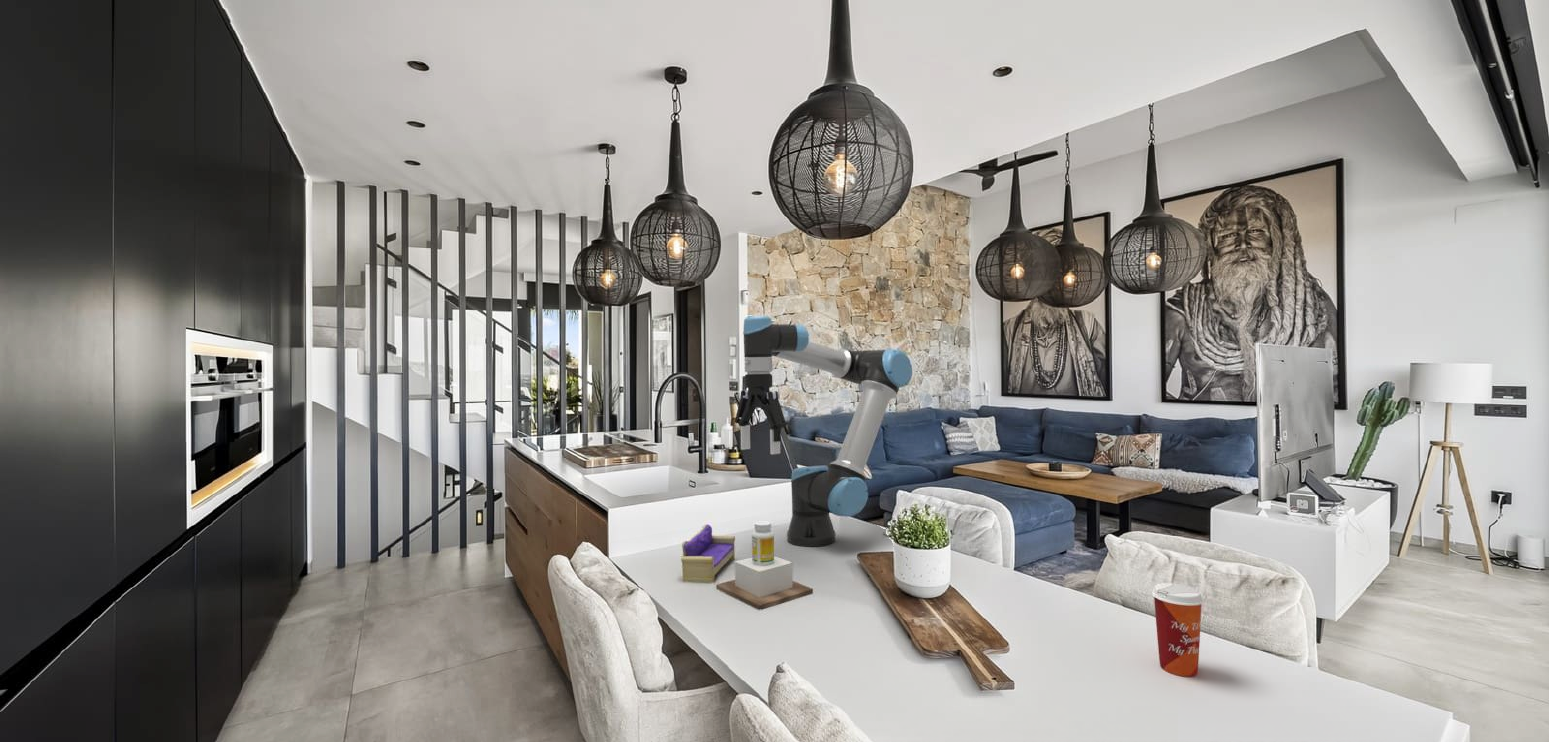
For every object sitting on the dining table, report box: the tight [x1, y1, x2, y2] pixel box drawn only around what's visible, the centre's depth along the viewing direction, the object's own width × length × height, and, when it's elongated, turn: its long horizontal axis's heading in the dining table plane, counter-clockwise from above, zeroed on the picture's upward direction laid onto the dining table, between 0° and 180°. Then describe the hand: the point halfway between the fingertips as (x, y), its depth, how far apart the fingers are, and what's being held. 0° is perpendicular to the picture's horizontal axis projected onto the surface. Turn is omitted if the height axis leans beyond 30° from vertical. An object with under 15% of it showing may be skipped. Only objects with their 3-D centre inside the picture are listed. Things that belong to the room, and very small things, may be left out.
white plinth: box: [734, 555, 794, 597], centre depth 153 cm, size 10×10×6 cm
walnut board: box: [715, 579, 814, 611], centre depth 153 cm, size 16×18×1 cm
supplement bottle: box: [751, 520, 775, 565], centre depth 153 cm, size 5×5×10 cm
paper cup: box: [1151, 582, 1205, 678], centre depth 110 cm, size 8×8×14 cm
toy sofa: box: [680, 523, 736, 583], centre depth 170 cm, size 21×9×10 cm, turn 167°
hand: (760, 451), depth 170 cm, fingers open, 13 cm apart
